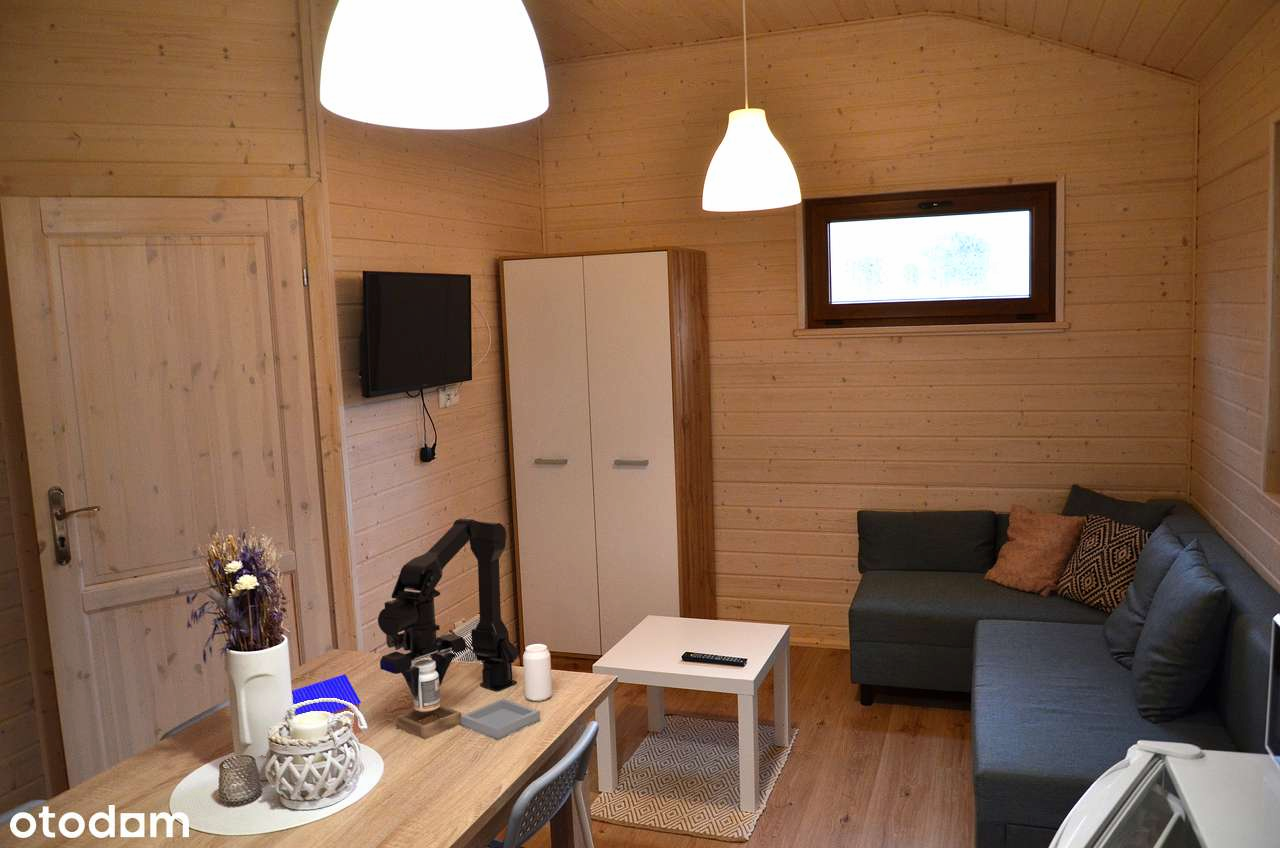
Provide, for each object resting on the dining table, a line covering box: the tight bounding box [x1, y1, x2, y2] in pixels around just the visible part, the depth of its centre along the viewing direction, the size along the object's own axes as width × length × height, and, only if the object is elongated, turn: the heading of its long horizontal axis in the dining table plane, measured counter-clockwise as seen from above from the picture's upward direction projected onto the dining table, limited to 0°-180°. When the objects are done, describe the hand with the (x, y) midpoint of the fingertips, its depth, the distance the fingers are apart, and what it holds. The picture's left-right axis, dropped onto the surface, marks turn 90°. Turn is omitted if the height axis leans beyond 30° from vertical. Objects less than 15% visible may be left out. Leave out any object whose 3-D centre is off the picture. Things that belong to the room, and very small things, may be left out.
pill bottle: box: [412, 659, 442, 712], centre depth 214 cm, size 6×6×10 cm
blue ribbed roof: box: [291, 674, 362, 735], centre depth 210 cm, size 12×20×12 cm, turn 136°
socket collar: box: [394, 705, 463, 741], centre depth 215 cm, size 10×10×2 cm
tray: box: [460, 698, 541, 741], centre depth 214 cm, size 12×12×2 cm
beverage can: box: [522, 643, 553, 702], centre depth 228 cm, size 6×6×12 cm
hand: (426, 691), depth 214 cm, fingers closed on pill bottle, 6 cm apart
